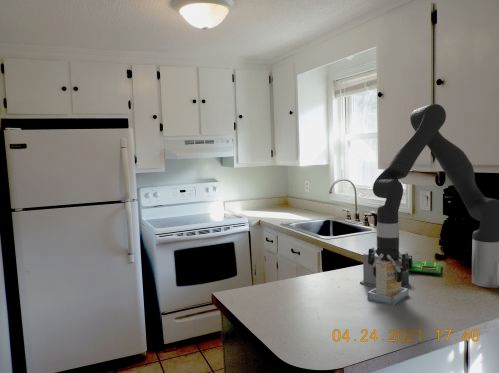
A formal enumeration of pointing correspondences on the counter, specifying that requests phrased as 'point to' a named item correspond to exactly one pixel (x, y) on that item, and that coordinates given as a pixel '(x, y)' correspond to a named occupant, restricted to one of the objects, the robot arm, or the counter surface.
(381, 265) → the supplement box
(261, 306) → the counter surface
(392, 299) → the tray
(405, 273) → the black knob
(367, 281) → the control box
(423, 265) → the electronic board model
